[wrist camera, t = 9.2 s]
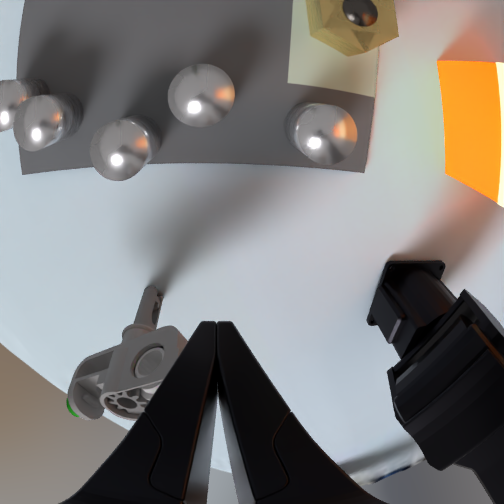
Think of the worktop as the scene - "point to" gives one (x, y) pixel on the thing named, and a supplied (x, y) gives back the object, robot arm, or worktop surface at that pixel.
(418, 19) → the worktop surface
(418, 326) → the robot arm
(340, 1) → the nut
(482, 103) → the orange juice
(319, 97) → the mat
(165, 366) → the mechanical component
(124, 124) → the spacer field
